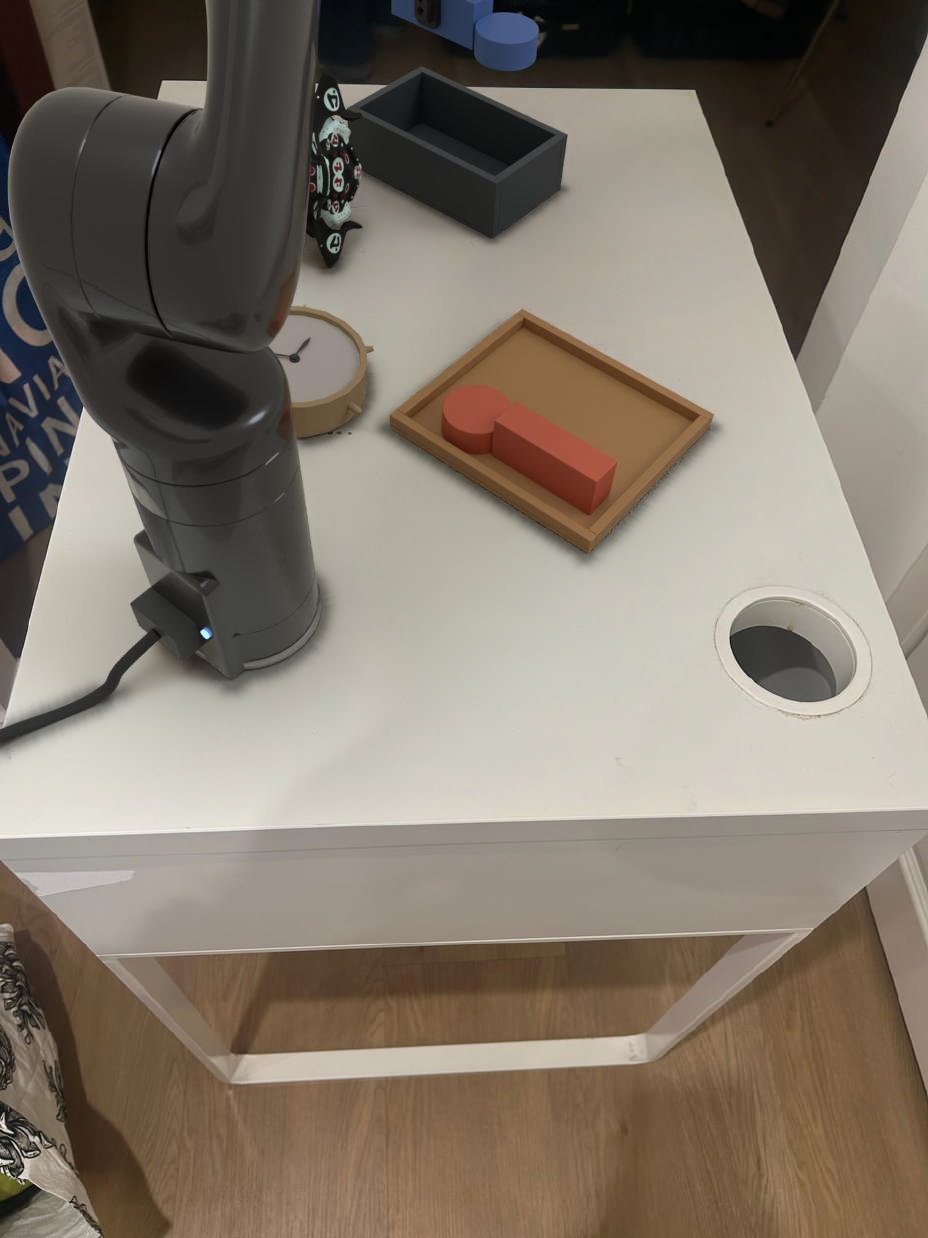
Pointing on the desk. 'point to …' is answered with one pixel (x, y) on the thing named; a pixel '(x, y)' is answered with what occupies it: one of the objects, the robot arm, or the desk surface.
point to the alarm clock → (322, 369)
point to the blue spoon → (483, 31)
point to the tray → (561, 420)
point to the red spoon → (527, 445)
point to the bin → (457, 150)
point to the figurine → (331, 171)
